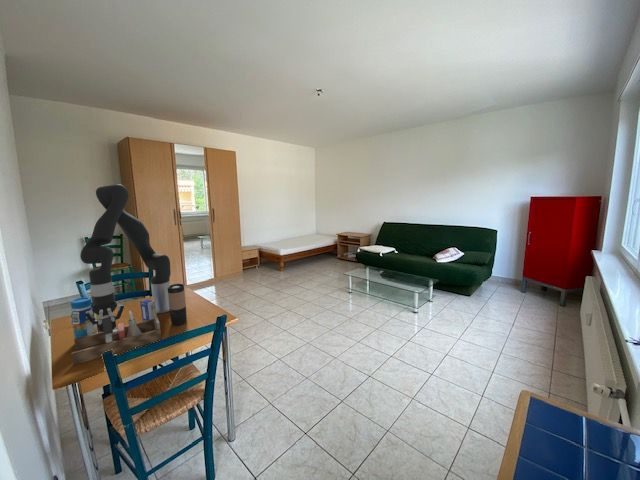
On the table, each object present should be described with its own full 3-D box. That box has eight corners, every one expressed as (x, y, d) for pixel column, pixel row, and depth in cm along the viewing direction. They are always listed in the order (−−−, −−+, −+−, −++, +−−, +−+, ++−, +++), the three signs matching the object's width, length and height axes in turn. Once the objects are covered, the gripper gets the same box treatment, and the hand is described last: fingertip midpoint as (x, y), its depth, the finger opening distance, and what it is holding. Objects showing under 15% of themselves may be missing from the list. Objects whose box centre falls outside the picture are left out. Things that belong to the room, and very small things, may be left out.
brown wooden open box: (157, 327, 135) (154, 305, 133) (161, 339, 124) (158, 315, 122) (76, 349, 116) (71, 323, 114) (73, 365, 106) (68, 337, 103)
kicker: (124, 335, 127) (121, 308, 124) (126, 348, 116) (122, 319, 114) (106, 340, 122) (101, 312, 120) (106, 354, 112) (101, 324, 110)
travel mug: (189, 322, 141) (186, 286, 137) (174, 327, 135) (170, 290, 132) (184, 317, 146) (180, 282, 142) (168, 322, 140) (165, 286, 137)
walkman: (142, 321, 141) (139, 300, 139) (147, 319, 143) (145, 298, 141) (152, 324, 138) (149, 302, 136) (157, 322, 140) (155, 300, 138)
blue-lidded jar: (73, 341, 123) (66, 300, 119) (97, 333, 129) (91, 294, 125) (76, 348, 117) (69, 305, 114) (101, 340, 123) (94, 299, 120)
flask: (128, 336, 126) (126, 317, 125) (146, 334, 128) (143, 315, 126) (121, 345, 120) (119, 324, 118) (140, 342, 121) (137, 322, 120)
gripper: (122, 286, 121) (127, 322, 124) (81, 293, 112) (87, 331, 115) (123, 291, 115) (128, 328, 118) (80, 299, 107) (86, 338, 110)
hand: (108, 329), depth 117 cm, fingers closed on kicker, 3 cm apart
